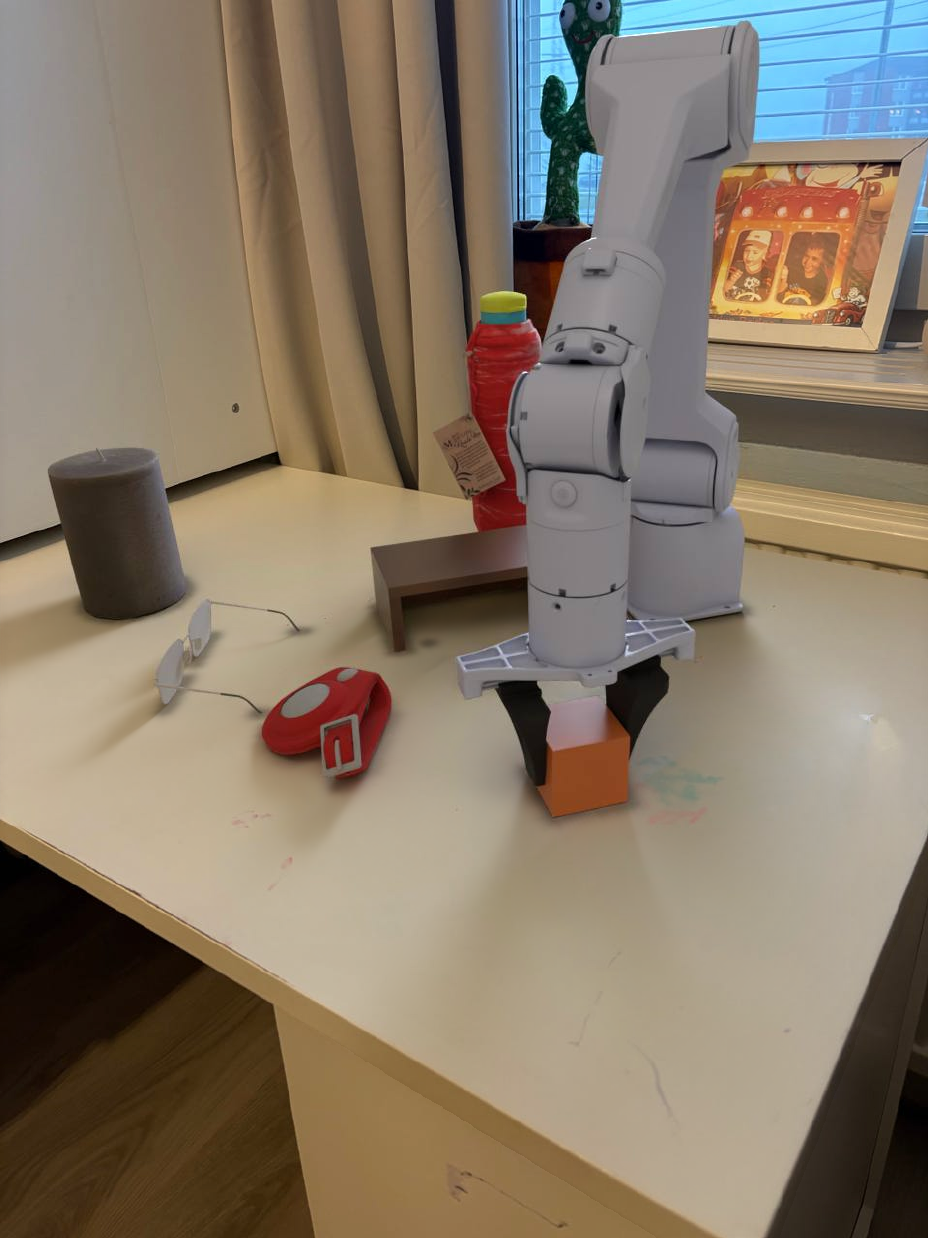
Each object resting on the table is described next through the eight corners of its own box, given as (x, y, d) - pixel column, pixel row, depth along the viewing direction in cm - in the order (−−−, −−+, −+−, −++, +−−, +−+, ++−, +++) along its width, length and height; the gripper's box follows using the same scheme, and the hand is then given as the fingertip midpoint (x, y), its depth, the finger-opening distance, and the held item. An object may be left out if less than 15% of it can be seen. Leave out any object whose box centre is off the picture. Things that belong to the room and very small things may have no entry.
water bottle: (474, 570, 90) (461, 306, 78) (431, 546, 96) (413, 298, 84) (567, 539, 96) (568, 290, 84) (521, 518, 101) (516, 283, 90)
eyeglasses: (213, 630, 81) (208, 590, 79) (302, 635, 81) (299, 595, 79) (157, 717, 69) (150, 672, 67) (261, 724, 68) (257, 678, 66)
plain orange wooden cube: (597, 757, 61) (599, 694, 59) (627, 801, 57) (630, 736, 55) (527, 771, 60) (526, 708, 58) (553, 817, 56) (552, 751, 54)
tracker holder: (228, 727, 65) (324, 644, 70) (258, 773, 67) (349, 688, 72) (328, 758, 56) (429, 660, 61) (359, 809, 58) (454, 710, 63)
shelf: (540, 581, 87) (540, 522, 84) (574, 621, 79) (574, 558, 76) (376, 607, 84) (370, 547, 81) (394, 652, 76) (388, 587, 73)
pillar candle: (107, 630, 82) (65, 471, 75) (68, 598, 89) (26, 449, 82) (205, 595, 88) (174, 444, 81) (161, 567, 94) (130, 426, 87)
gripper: (473, 627, 47) (484, 831, 53) (727, 585, 50) (709, 783, 56) (442, 574, 53) (455, 762, 59) (670, 539, 56) (659, 722, 62)
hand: (576, 768), depth 58 cm, fingers closed on plain orange wooden cube, 5 cm apart
